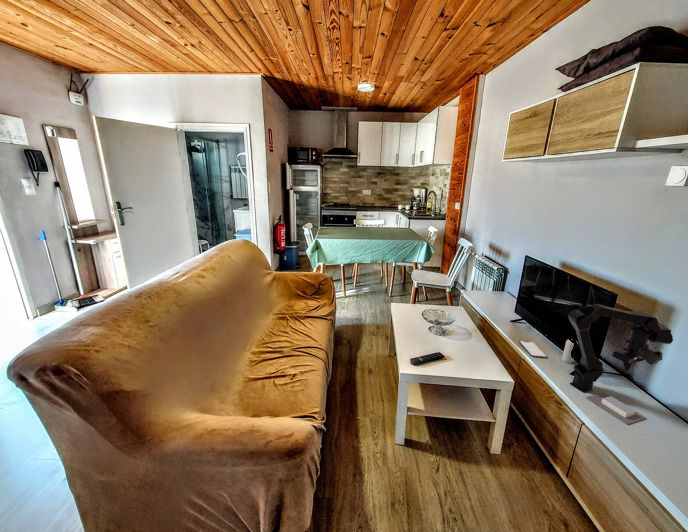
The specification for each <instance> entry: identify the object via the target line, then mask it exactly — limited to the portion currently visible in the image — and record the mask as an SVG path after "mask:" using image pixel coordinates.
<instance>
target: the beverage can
mask: <svg viewBox="0 0 688 532" xmlns="http://www.w3.org/2000/svg"><path fill="white" fill-rule="evenodd" d="M573 347H574V343H572V342H571V341H570V340H569V338H568V339H566V341H565V345H564V349H563V352H562V353H563V354H562V357H561V360H562V361H563V362H564V363H567V364H572V363H573V361H574V358H572V357H571V351H572V349H573Z"/></svg>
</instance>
